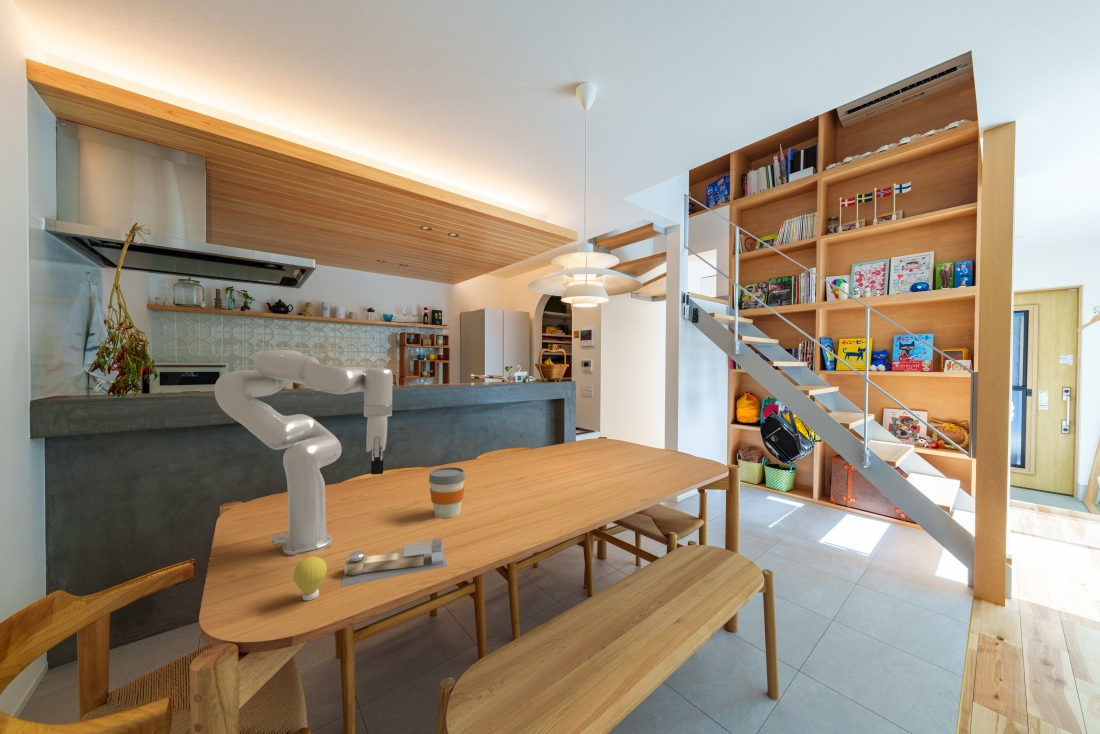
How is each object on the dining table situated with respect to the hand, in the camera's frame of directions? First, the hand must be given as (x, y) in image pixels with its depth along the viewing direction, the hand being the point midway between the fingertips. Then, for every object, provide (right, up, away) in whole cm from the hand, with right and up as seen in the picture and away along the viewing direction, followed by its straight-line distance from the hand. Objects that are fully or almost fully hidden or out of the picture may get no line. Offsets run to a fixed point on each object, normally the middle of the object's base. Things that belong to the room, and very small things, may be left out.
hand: (377, 473), depth 117 cm
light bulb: (-5, -23, -25) cm, 34 cm away
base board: (+9, -23, -9) cm, 26 cm away
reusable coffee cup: (+13, -22, +28) cm, 38 cm away
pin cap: (+1, -19, -13) cm, 23 cm away
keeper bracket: (+16, -21, -9) cm, 28 cm away
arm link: (+7, -21, -12) cm, 25 cm away
